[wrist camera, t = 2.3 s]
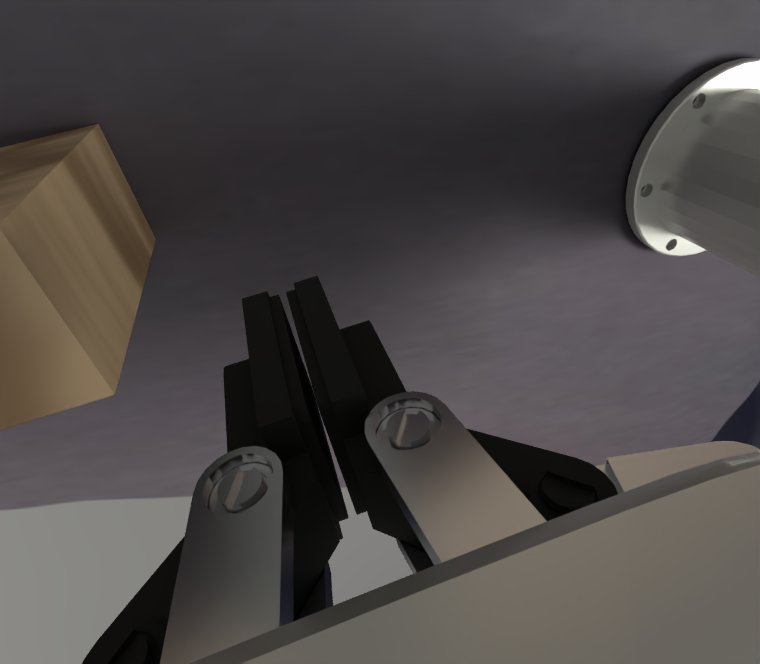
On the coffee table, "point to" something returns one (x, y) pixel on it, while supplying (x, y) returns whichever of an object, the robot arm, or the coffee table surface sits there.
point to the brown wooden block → (66, 273)
